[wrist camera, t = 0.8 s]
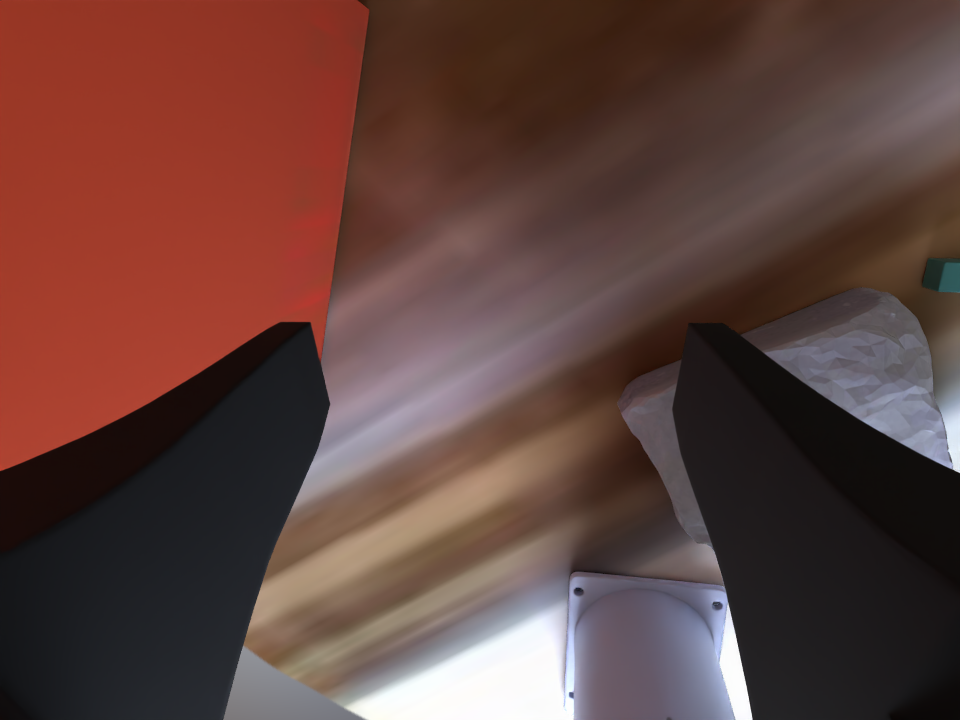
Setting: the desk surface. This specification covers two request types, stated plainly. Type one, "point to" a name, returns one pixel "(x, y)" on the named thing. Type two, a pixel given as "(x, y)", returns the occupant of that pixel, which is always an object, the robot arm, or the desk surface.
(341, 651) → the desk surface
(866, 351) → the stone block
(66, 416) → the file binder
